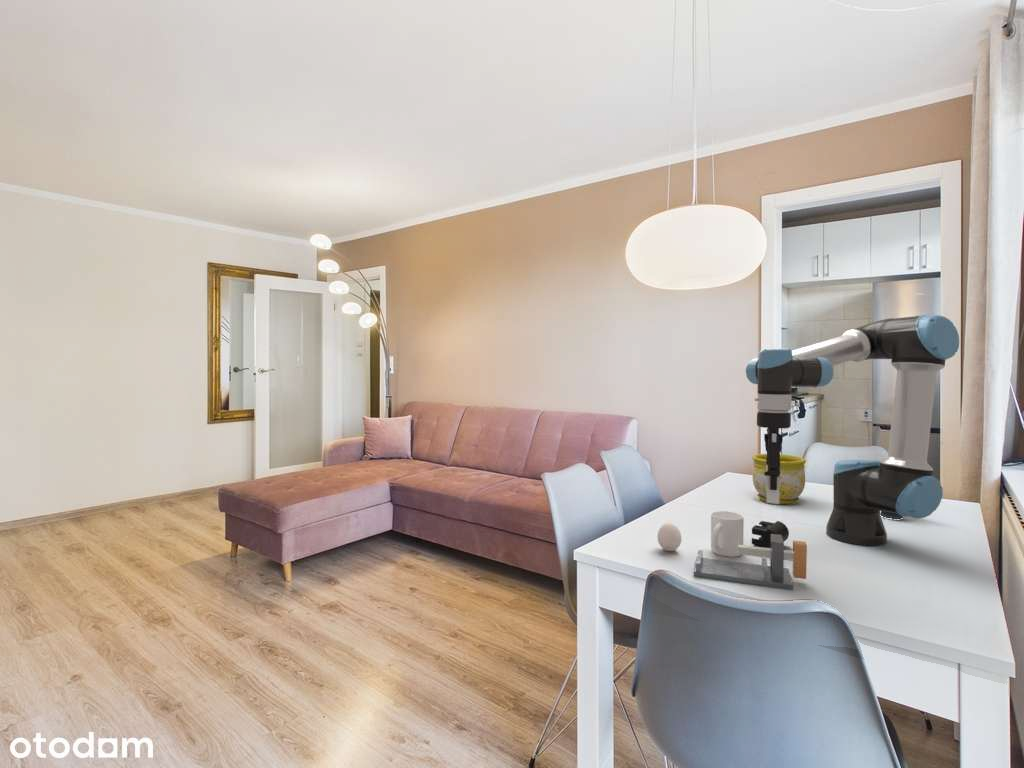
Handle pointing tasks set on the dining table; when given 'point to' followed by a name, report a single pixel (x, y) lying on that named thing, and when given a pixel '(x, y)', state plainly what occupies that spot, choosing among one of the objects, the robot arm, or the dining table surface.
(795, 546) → the lever
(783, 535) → the end cap
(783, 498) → the flowerpot
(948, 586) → the dining table surface
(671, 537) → the egg
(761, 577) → the dock
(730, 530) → the mug
